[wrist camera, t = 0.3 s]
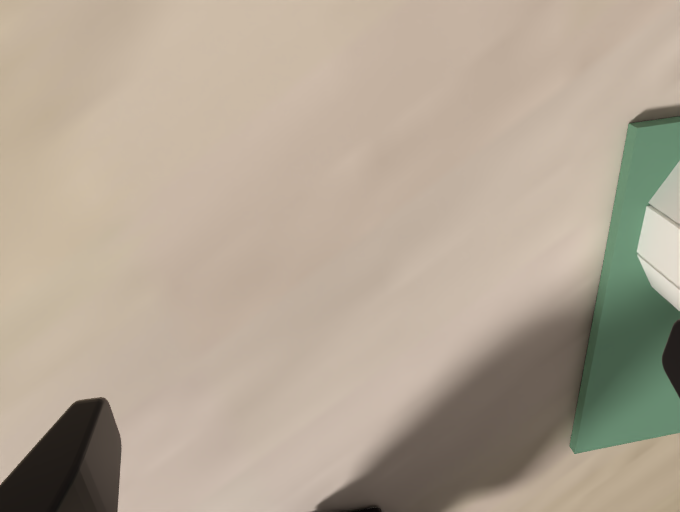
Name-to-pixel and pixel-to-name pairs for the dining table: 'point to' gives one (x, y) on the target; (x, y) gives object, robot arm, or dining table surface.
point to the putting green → (635, 299)
